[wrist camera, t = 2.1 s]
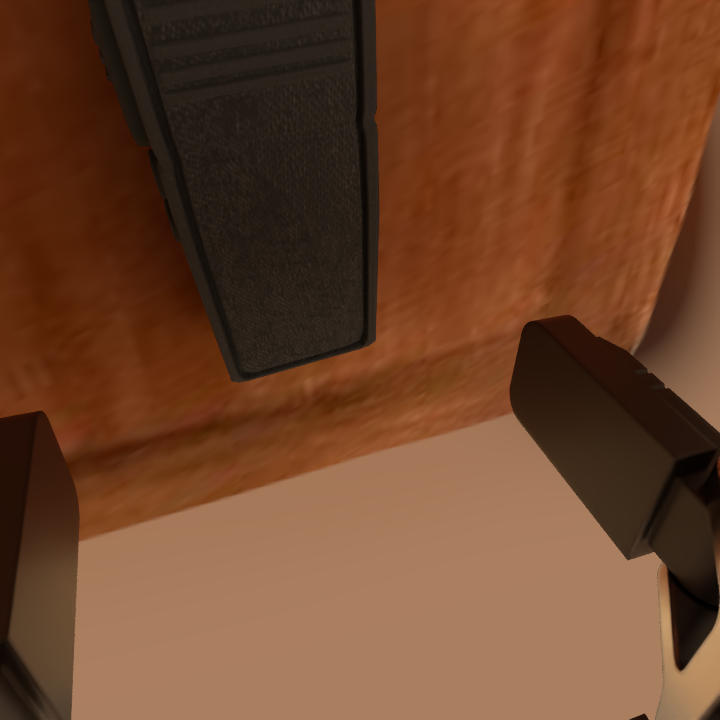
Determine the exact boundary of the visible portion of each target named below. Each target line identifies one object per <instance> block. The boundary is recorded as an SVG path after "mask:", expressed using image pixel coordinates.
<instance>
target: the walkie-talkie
mask: <svg viewBox="0 0 720 720" xmlns="http://www.w3.org/2000/svg"><path fill="white" fill-rule="evenodd" d="M88 2H89V9H90V15H91V19H90V21H91V28H92V35H93V38H94V41H95V43H96V44H97V45H99V51H100V58H101V61H102V63H103V64H105V68H106V74H107V78H108V80H109V81H112V83H113V86H114V89H115V92H116V94H117V97H118V100H119V103H120V106H121V108H122V111H123V114H124V117H125V120H126V123H127V125H128V127H129V130H130V132H131V134H132V136H133V138H134V140H135V141H136V143H137V144H138V146H151V148H152V149H150V150H148V154H149V160H150V164H151V168H152V171H153V175H154V178H155V181H156V184H157V187H158V190H159V192H160V195H161V197H162V198H163V199H164V205H165V209H166V213H167V217H168V220H169V224H170V227H171V230H172V233H173V236H174V238H175V240H176V241H177V242H181V244H182V246H183V250H184V253H185V256H186V259H187V261H188V264H189V267H190V269H191V272H192V275H193V278H194V280H195V283H196V286H197V288H198V291H199V294H200V297H201V299H202V302H203V305H204V307H205V310H206V313H207V316H208V318H209V321H210V324H211V326H212V329H213V332H214V335H215V337H216V340H217V343H218V345H219V348H220V351H221V354H222V356H223V359H224V362H225V364H226V367H227V370H228V372H229V375H230V378H231V381H233V382H244V381H249V380H252V379H256V378H259V377H263V376H267V375H270V374H274V373H277V372H281V371H284V370H288V369H291V368H295V367H298V366H302V365H305V364H309V363H312V362H316V361H319V360H323V359H326V358H330V357H333V356H337V355H340V354H344V353H347V352H351V351H354V350H358V349H361V348H364V347H366V346H369V345H370V344H372V343H373V342H375V341H376V308H377V274H378V239H379V173H378V132H377V125H376V122H375V121H374V115H375V114H376V109H377V72H376V20H375V0H88Z"/></svg>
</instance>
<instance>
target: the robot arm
mask: <svg viewBox="0 0 720 720" xmlns="http://www.w3.org/2000/svg"><path fill="white" fill-rule="evenodd" d="M510 401H511V405H512V408H513V411H514V414H515V415H516V417H517V419H518V420H519V422H520V423H521V424H522V426H523V427H524V428H525V429H526V431H527V432H528V433H529V434H530V436H531V437H532V438H533V440H534V441H535V442H536V444H537V445H538V446H539V447H540V448H541V450H542V451H543V452H544V454H545V455H546V456H547V458H548V459H549V460H550V461H551V463H552V464H553V465H554V467H555V468H556V469H557V470H558V472H559V473H560V474H561V476H562V477H563V478H564V479H565V481H566V482H567V483H568V484H569V486H570V487H571V488H572V489H573V491H574V492H575V493H576V495H577V496H578V497H579V499H580V500H581V501H582V502H583V504H584V505H585V506H586V508H587V509H588V510H589V511H590V513H591V514H592V515H593V517H594V518H595V519H596V520H597V522H598V523H599V524H600V525H601V527H602V528H603V529H604V531H605V532H606V533H607V534H608V536H609V537H610V538H611V540H612V541H613V542H614V543H615V545H616V546H617V547H618V548H619V550H620V551H621V552H622V554H623V555H624V556H625V558H626V559H627V560H630V559H633V558H637V557H639V556H643V555H646V554H649V553H652V552H655V553H656V554H657V555H658V557H659V558H660V559H661V560H662V563H661V564H660V566H659V569H658V573H657V580H658V599H659V616H660V633H661V651H662V668H663V685H662V693H661V698H660V701H659V704H658V708H657V712H656V717H655V720H720V433H719V432H718V431H717V430H716V429H715V428H714V427H713V426H711V425H710V424H709V423H708V422H707V421H706V420H705V419H703V418H702V417H701V416H700V415H699V414H698V413H697V412H696V411H694V410H693V409H692V408H691V407H690V406H689V405H688V404H686V403H685V402H684V401H683V400H682V399H681V398H680V397H678V396H677V395H676V394H675V393H674V392H673V391H672V390H671V389H669V388H668V389H666V388H665V386H664V383H663V382H661V381H660V380H659V379H658V378H657V377H656V376H655V375H654V374H652V373H648V372H647V368H646V367H644V366H643V365H642V364H641V363H640V362H639V361H638V360H637V359H635V358H634V357H633V356H632V355H631V354H630V353H629V352H627V351H626V350H624V349H622V348H620V347H618V346H616V345H614V344H612V343H610V342H609V341H607V340H605V339H603V338H601V337H596V336H595V335H593V334H592V333H591V332H590V331H589V330H588V329H587V328H586V327H585V326H584V325H582V324H581V323H580V322H579V321H578V320H577V319H576V318H574V317H573V316H571V315H562V316H557V317H552V318H546V319H541V320H535V321H530V322H528V323H527V324H526V325H525V326H524V328H523V331H522V334H521V339H520V343H519V348H518V352H517V357H516V361H515V366H514V371H513V375H512V380H511V384H510ZM78 541H79V506H78V499H77V493H76V489H75V485H74V482H73V479H72V476H71V474H70V471H69V469H68V467H67V464H66V462H65V459H64V457H63V454H62V452H61V449H60V447H59V444H58V442H57V439H56V437H55V434H54V432H53V429H52V427H51V424H50V422H49V420H48V418H47V416H46V414H45V413H44V412H43V411H36V412H31V413H26V414H20V415H15V416H9V417H4V418H0V720H71V708H72V684H73V660H74V636H75V611H76V588H77V565H78V564H77V563H78ZM630 720H649V719H648V718H647V716H646V715H645V714H642V715H640V716H637V717H635V718H632V719H630Z"/></svg>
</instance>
